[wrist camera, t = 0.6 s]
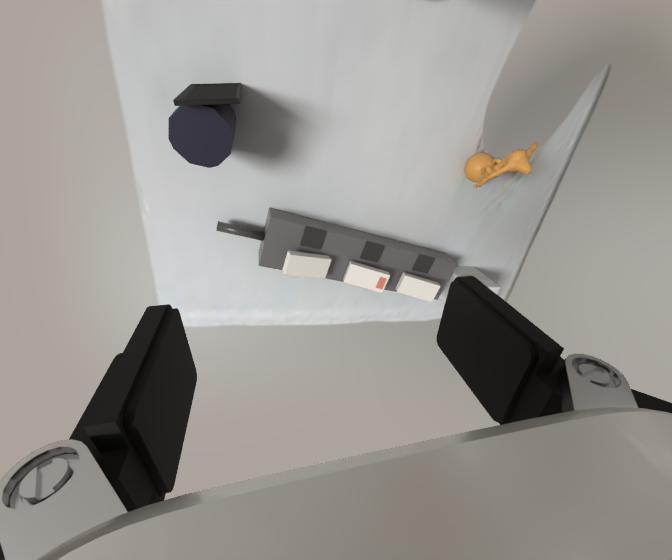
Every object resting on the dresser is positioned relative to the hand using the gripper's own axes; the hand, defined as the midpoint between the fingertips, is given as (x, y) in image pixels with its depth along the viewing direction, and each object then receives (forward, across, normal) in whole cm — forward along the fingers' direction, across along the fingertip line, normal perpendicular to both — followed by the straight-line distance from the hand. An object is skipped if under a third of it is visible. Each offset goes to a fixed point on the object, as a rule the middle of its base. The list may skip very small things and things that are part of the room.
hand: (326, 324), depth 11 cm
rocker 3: (+28, -20, +18) cm, 39 cm away
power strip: (+33, -9, +13) cm, 37 cm away
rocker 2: (+28, -12, +15) cm, 34 cm away
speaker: (+34, +6, -5) cm, 35 cm away
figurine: (+34, -28, 0) cm, 44 cm away
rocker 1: (+28, -3, +12) cm, 31 cm away
